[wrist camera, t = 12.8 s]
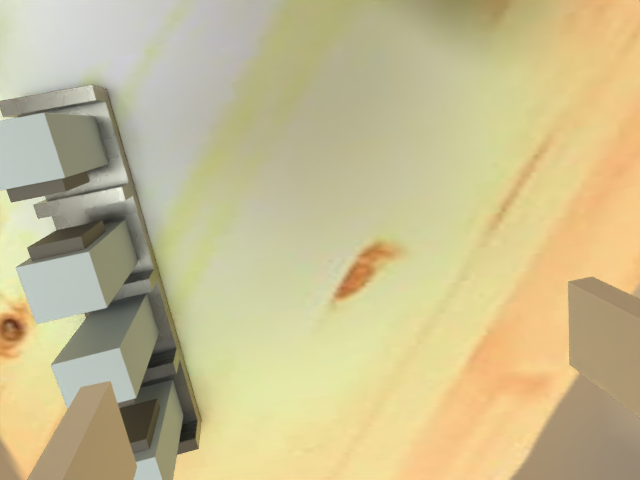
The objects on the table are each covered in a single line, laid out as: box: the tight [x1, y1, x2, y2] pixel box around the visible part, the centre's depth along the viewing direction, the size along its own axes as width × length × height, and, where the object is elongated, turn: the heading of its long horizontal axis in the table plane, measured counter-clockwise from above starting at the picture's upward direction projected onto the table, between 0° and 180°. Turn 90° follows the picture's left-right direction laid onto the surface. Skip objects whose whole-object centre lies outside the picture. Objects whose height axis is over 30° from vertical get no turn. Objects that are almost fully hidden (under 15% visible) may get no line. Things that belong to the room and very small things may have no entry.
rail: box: [0, 85, 201, 455], centre depth 38 cm, size 29×6×4 cm, turn 11°
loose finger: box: [51, 293, 159, 409], centre depth 35 cm, size 4×4×10 cm
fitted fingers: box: [0, 113, 183, 480], centre depth 34 cm, size 25×4×10 cm, turn 11°
